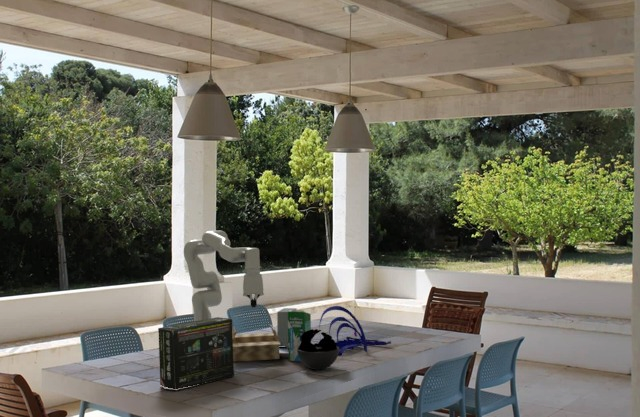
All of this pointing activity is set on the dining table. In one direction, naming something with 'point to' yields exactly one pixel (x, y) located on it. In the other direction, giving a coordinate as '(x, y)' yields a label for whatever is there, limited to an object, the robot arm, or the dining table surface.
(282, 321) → the hard drive box
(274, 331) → the right flap
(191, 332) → the router box
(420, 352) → the dining table surface
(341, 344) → the sculpture
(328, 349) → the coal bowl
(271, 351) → the carton
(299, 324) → the milk carton
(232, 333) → the left flap
